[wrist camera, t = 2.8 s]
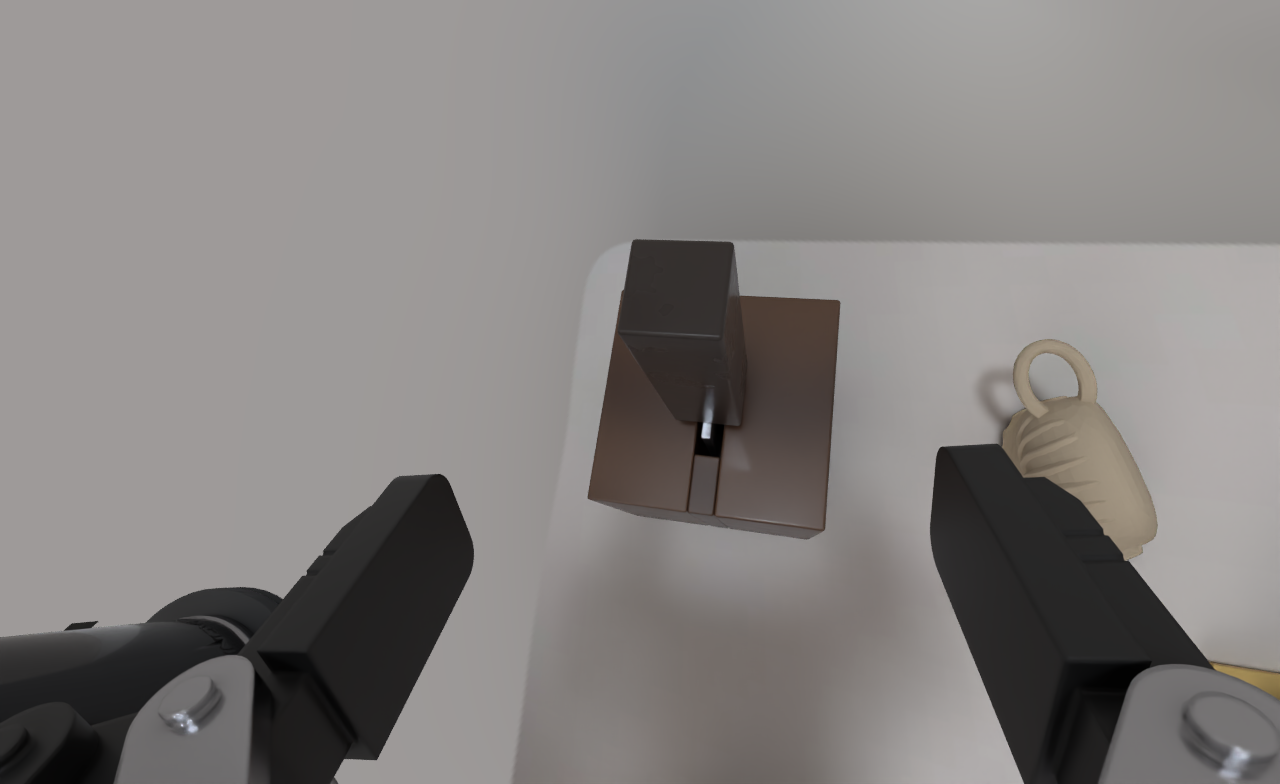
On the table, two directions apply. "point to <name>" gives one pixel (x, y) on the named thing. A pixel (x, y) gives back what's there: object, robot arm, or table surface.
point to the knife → (688, 330)
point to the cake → (1253, 677)
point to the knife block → (730, 432)
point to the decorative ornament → (1080, 451)
